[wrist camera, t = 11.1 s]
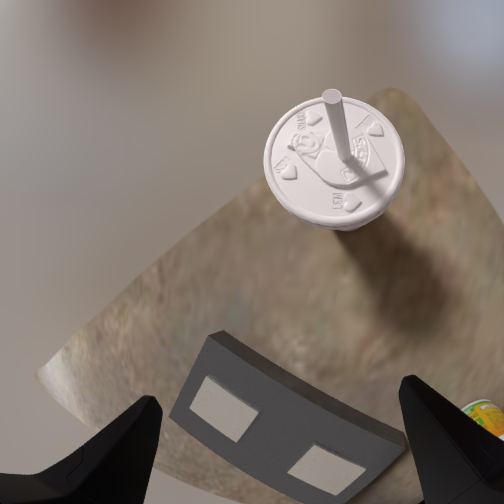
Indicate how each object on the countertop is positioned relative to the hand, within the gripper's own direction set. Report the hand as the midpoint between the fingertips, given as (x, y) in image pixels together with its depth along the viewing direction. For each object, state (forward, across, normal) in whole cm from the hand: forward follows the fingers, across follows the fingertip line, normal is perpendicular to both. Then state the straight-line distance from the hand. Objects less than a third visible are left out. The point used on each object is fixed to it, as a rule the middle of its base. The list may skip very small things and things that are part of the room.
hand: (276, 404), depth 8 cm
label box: (+7, +1, +13) cm, 15 cm away
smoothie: (+14, -6, -3) cm, 16 cm away
